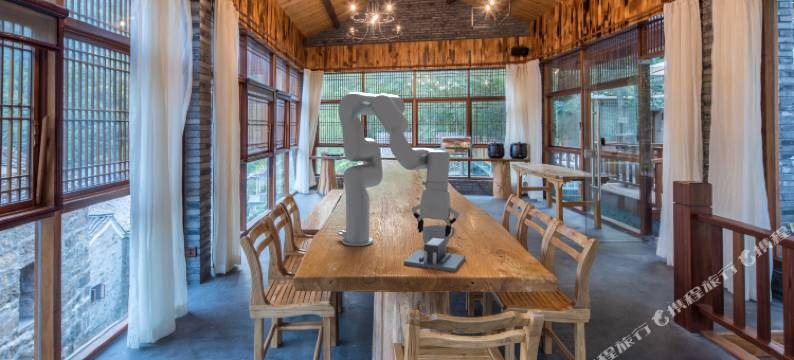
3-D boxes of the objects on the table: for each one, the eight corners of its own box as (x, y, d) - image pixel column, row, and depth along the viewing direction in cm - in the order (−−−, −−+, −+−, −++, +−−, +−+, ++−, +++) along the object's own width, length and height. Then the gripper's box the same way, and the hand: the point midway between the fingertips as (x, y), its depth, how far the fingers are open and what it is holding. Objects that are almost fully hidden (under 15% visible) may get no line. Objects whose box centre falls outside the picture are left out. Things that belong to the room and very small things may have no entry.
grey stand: (403, 264, 142) (404, 249, 141) (417, 252, 156) (418, 239, 155) (454, 271, 135) (455, 256, 135) (464, 258, 149) (465, 244, 148)
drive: (423, 261, 142) (424, 244, 141) (432, 253, 151) (432, 237, 150) (437, 263, 140) (438, 245, 139) (445, 255, 149) (446, 238, 148)
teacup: (425, 251, 158) (426, 230, 157) (418, 243, 168) (419, 224, 167) (460, 249, 161) (461, 229, 160) (451, 242, 171) (452, 223, 170)
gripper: (409, 184, 142) (407, 232, 145) (458, 190, 136) (455, 240, 138) (416, 182, 149) (414, 227, 151) (463, 187, 143) (460, 234, 145)
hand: (433, 233), depth 145 cm, fingers open, 9 cm apart
